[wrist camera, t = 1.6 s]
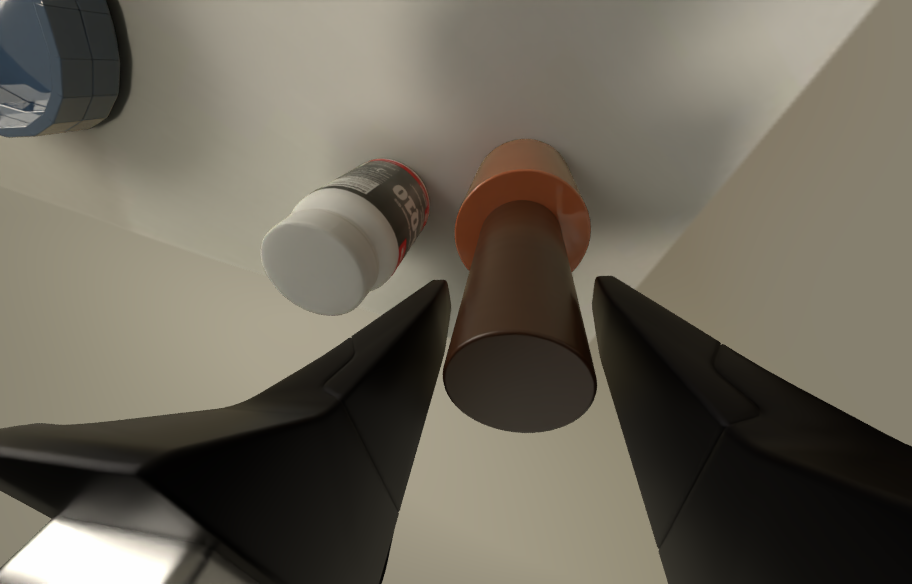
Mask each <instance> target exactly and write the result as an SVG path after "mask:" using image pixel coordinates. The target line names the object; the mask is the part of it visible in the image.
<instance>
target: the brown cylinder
mask: <svg viewBox="0 0 912 584" xmlns="http://www.w3.org/2000/svg"><path fill="white" fill-rule="evenodd" d="M443 382H444V386H445V390H446V392H447V394H448V396H449V397H450V399H451V401H452V402H453V403H454V404H455V405H456V406H457V407H458V408H459V409H460V410H461V411H462V412H463V413H465V414H466V415H467V416H469V417H471V418H472V419H474V420H476V421H478V422H480V423H482V424H484V425H487V426H490V427H493V428H496V429H500V430H504V431H511V432H520V433H535V432H544V431H550V430H554V429H557V428H560V427H563V426H566V425H568V424H570V423H572V422H574V421H575V420H577V419H578V418H580V417H581V416H582V415H583V414H584V413H585V412H586V411H587V410H588V409H589V407H590V406H591V404H592V402H593V401H594V397H595V395H596V390H597V380H596V375H595V370H594V366H593V362H592V357H591V353H590V349H589V345H588V340H587V336H586V332H585V328H584V323H583V319H582V315H581V311H580V307H579V302H578V298H577V294H576V290H575V285H574V281H573V277H572V273H571V268H570V264H569V260H568V256H567V251H566V247H565V243H564V239H563V235H562V230H561V227H560V224H559V221H558V219H557V218H556V216H555V215H554V214H553V213H552V212H551V211H550V210H549V209H548V208H546V207H545V206H543V205H541V204H539V203H537V202H533V201H528V200H516V201H511V202H507V203H505V204H503V205H501V206H499V207H497V208H496V209H494V210H493V211H492V212H491V213H490V214H489V215H488V216H487V218H486V219H485V221H484V223H483V225H482V228H481V231H480V234H479V238H478V242H477V246H476V249H475V253H474V257H473V260H472V264H471V268H470V271H469V275H468V279H467V283H466V286H465V290H464V294H463V297H462V301H461V305H460V308H459V312H458V316H457V320H456V323H455V327H454V331H453V334H452V338H451V342H450V345H449V349H448V353H447V357H446V360H445V364H444V368H443Z"/></svg>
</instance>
